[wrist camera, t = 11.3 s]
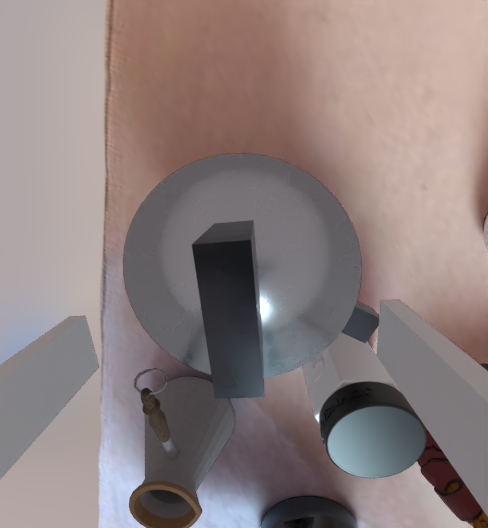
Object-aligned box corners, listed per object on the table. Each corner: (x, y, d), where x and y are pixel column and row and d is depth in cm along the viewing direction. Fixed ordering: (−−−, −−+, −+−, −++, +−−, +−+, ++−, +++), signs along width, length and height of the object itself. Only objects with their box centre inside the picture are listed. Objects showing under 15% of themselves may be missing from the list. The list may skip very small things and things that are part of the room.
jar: (326, 310, 32) (365, 383, 20) (384, 340, 32) (453, 426, 21) (288, 366, 34) (303, 459, 23) (342, 392, 35) (384, 495, 23)
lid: (348, 356, 22) (398, 454, 14) (158, 365, 23) (106, 459, 15) (353, 144, 17) (432, 112, 9) (115, 169, 18) (9, 159, 11)
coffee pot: (235, 436, 38) (220, 589, 24) (155, 428, 38) (94, 575, 24) (243, 299, 32) (231, 394, 17) (148, 291, 32) (59, 380, 18)
